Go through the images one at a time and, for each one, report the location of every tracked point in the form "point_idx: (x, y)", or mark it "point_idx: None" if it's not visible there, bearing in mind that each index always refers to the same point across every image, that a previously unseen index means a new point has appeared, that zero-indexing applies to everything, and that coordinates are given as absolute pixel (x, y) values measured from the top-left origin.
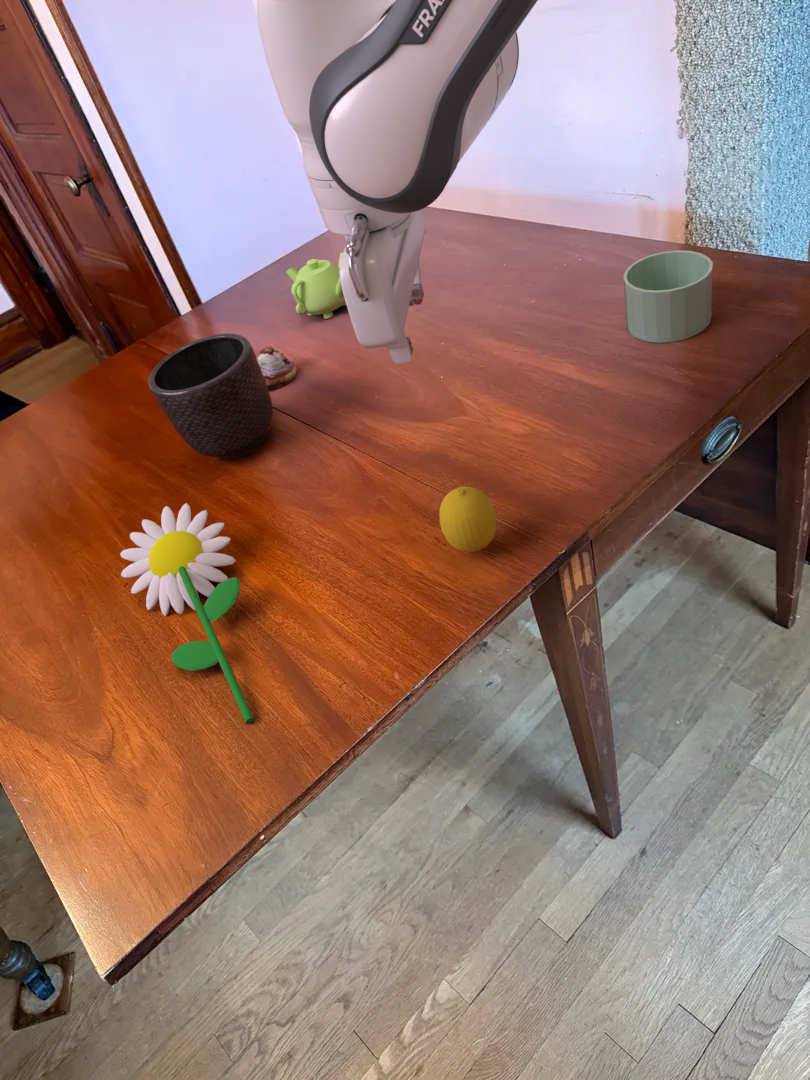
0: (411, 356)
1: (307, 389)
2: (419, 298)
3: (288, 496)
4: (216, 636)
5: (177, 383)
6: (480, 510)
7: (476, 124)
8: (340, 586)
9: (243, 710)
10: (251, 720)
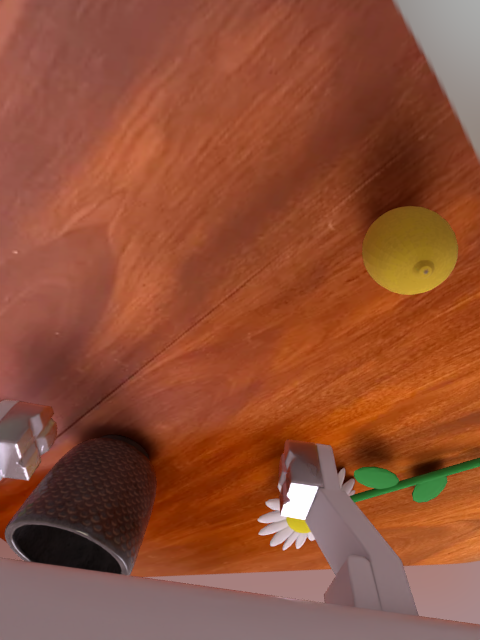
0: (324, 448)
1: (37, 399)
2: (40, 419)
3: (219, 417)
4: (417, 478)
5: (76, 543)
6: (450, 236)
7: None
8: (380, 378)
9: None
10: None
